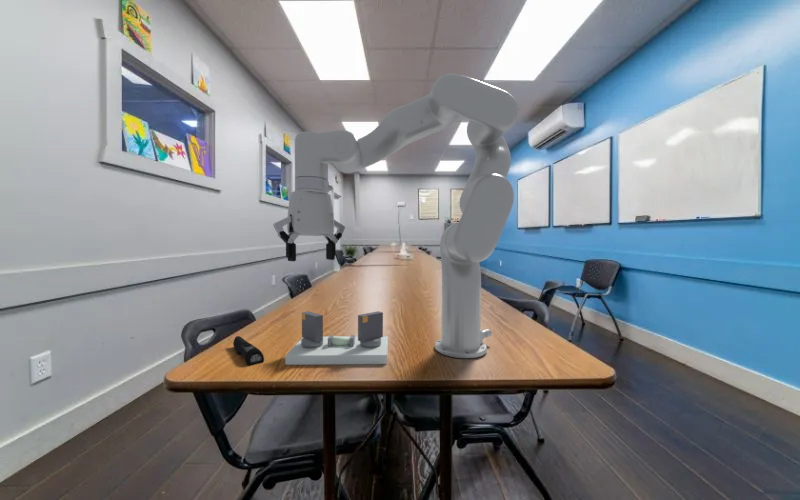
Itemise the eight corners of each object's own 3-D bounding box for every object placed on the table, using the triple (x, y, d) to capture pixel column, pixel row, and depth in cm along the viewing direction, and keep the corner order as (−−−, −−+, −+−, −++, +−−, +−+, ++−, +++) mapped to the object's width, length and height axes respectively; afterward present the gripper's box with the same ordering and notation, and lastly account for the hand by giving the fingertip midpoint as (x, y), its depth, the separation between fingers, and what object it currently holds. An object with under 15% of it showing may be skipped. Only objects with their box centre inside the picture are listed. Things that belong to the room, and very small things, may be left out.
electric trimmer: (246, 345, 77) (245, 333, 77) (265, 362, 66) (265, 348, 66) (229, 349, 75) (229, 336, 75) (247, 367, 63) (246, 353, 63)
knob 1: (328, 343, 71) (328, 313, 70) (310, 349, 67) (310, 318, 67) (314, 338, 75) (313, 310, 74) (295, 343, 71) (295, 313, 71)
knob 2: (374, 338, 75) (374, 310, 75) (386, 343, 71) (386, 313, 71) (354, 343, 71) (354, 313, 71) (366, 349, 67) (366, 317, 67)
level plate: (387, 343, 78) (387, 328, 78) (386, 364, 65) (386, 345, 65) (303, 344, 77) (303, 328, 77) (285, 364, 64) (285, 346, 64)
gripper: (336, 193, 78) (336, 258, 79) (268, 185, 67) (268, 260, 67) (351, 190, 73) (351, 259, 73) (280, 180, 61) (280, 262, 62)
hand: (311, 260), depth 70 cm, fingers open, 9 cm apart
